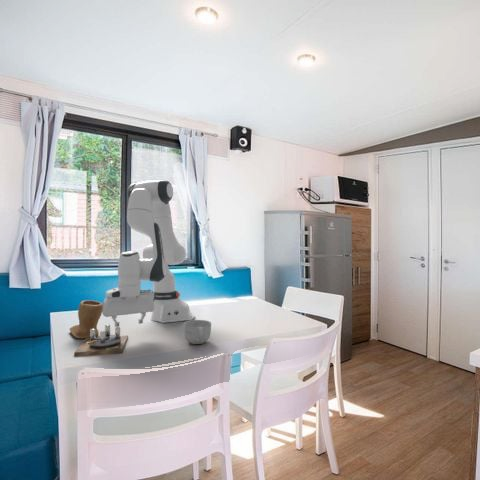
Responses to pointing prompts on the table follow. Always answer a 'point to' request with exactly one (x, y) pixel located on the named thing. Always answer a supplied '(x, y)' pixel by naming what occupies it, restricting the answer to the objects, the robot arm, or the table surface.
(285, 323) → the table surface
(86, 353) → the stand board
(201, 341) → the teacup
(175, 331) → the table surface
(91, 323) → the tan boot
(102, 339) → the grey pegged disc
